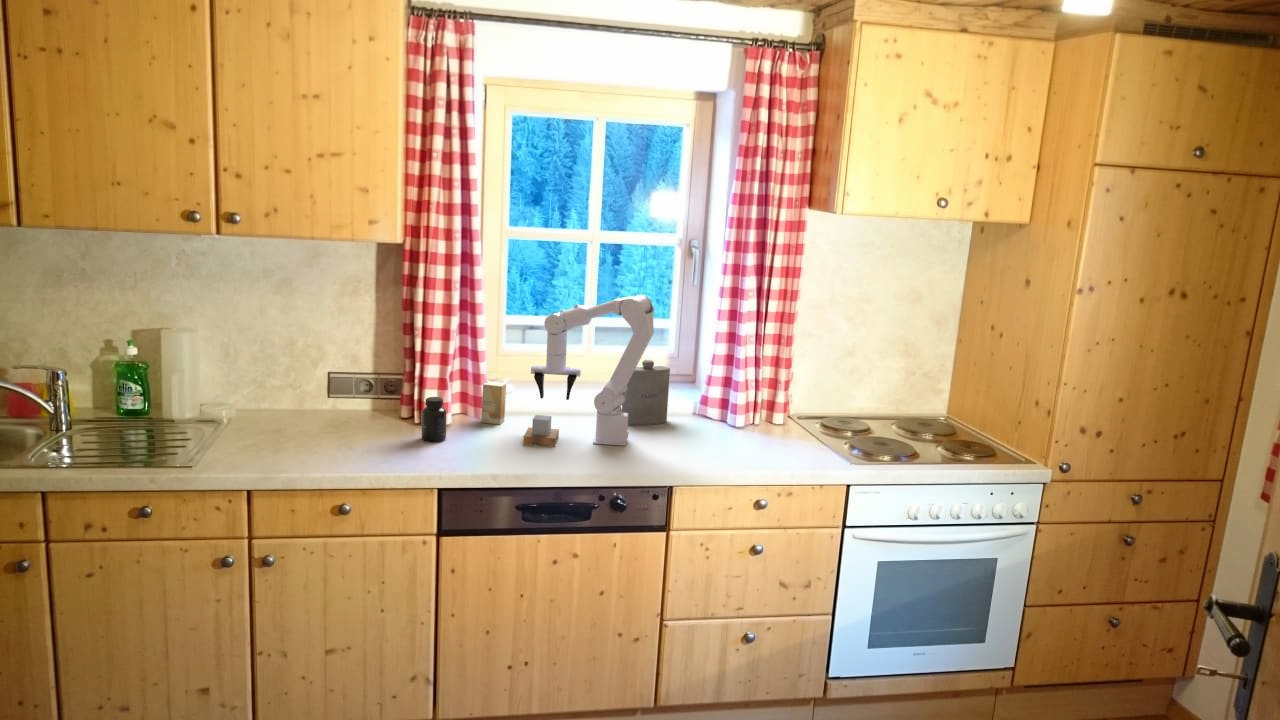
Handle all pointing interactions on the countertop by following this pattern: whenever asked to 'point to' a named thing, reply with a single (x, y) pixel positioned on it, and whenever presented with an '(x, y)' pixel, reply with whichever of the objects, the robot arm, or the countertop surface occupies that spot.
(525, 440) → the walnut block
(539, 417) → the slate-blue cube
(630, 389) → the flask
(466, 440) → the countertop surface
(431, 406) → the supplement bottle
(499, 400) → the skincare box
